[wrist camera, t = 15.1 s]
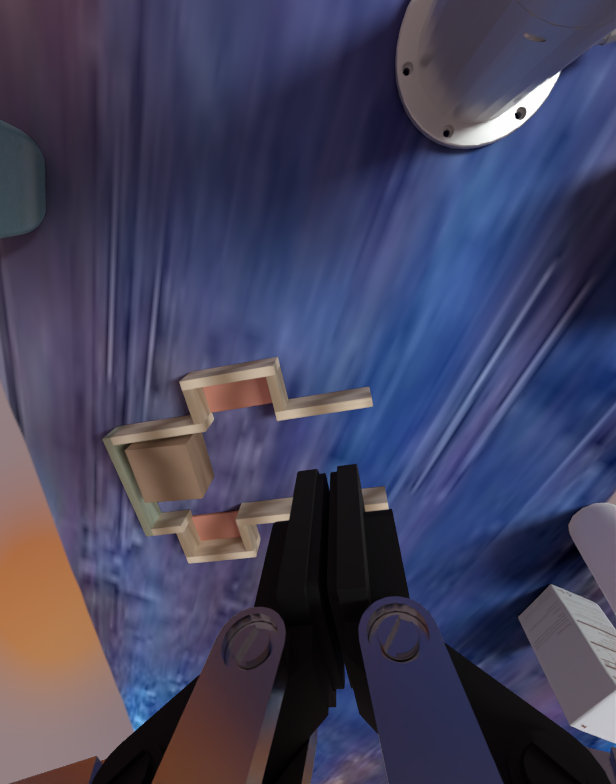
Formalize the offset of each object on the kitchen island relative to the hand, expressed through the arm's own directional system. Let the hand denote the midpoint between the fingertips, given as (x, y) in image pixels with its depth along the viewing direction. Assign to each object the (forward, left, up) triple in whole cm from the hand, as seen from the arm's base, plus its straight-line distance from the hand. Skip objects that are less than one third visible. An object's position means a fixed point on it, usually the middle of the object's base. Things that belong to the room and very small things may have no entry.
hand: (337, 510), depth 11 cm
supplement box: (-22, +44, -29) cm, 57 cm away
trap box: (+13, +15, -29) cm, 35 cm away
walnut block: (+22, +13, -29) cm, 39 cm away
